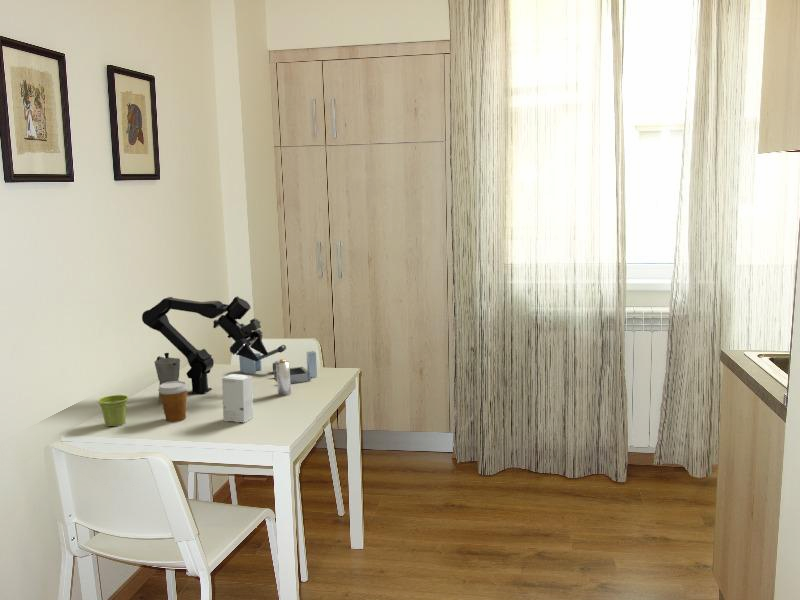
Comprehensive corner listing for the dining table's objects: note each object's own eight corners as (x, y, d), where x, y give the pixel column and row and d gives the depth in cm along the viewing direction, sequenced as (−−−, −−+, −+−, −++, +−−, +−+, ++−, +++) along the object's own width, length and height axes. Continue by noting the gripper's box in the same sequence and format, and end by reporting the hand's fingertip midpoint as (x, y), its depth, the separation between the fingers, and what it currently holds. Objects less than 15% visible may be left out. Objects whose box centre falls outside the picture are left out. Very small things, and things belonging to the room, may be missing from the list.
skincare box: (223, 421, 240) (219, 377, 238) (233, 416, 246) (230, 373, 243) (245, 423, 237) (242, 379, 235) (255, 417, 243) (252, 374, 240)
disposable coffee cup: (166, 415, 249) (163, 381, 247) (194, 414, 249) (191, 380, 247) (157, 424, 240) (153, 388, 238) (185, 423, 240) (182, 387, 238)
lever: (283, 351, 298) (281, 345, 297) (256, 362, 301) (253, 357, 301) (287, 349, 301) (284, 343, 301) (259, 360, 305) (257, 355, 304)
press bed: (281, 385, 282) (279, 359, 280) (274, 377, 293) (272, 353, 292) (320, 379, 288) (318, 354, 286) (312, 372, 299) (310, 348, 298)
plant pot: (121, 417, 248) (118, 393, 247) (136, 422, 242) (133, 397, 241) (95, 425, 241) (92, 400, 240) (110, 430, 235) (107, 404, 234)
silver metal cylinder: (288, 396, 267) (286, 361, 265) (276, 395, 268) (273, 361, 266) (293, 392, 271) (290, 358, 269) (280, 392, 272) (278, 358, 270)
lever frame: (277, 374, 298) (276, 357, 297) (239, 373, 302) (238, 356, 301) (283, 370, 305) (282, 353, 304) (246, 369, 308) (245, 352, 307)
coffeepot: (191, 401, 264) (186, 353, 261) (166, 407, 258) (161, 358, 255) (172, 393, 276) (168, 347, 273) (148, 399, 270) (144, 351, 267)
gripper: (235, 317, 259) (267, 348, 259) (256, 308, 277) (285, 337, 277) (216, 339, 262) (247, 369, 262) (237, 328, 280) (266, 357, 280)
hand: (262, 357), depth 270 cm, fingers open, 9 cm apart
